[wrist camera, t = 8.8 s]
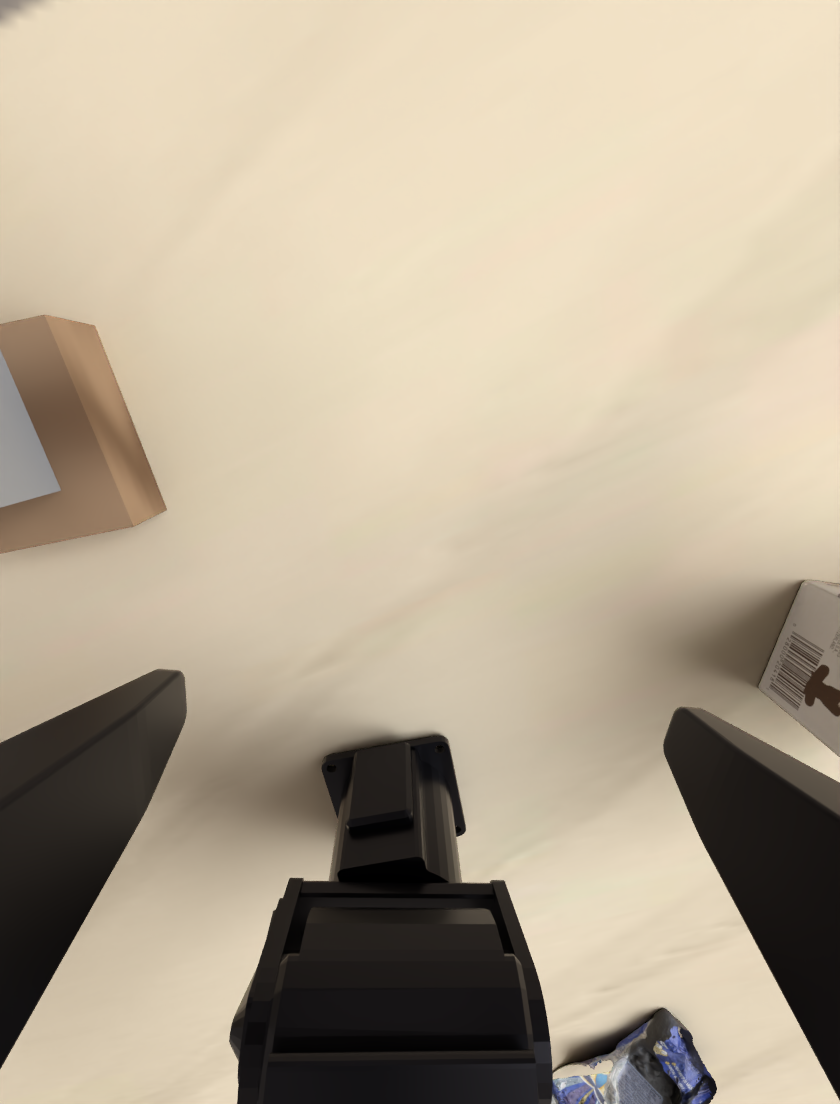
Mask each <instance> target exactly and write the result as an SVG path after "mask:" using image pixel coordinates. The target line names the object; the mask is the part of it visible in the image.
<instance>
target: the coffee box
mask: <svg viewBox="0 0 840 1104" xmlns="http://www.w3.org/2000/svg"><path fill="white" fill-rule="evenodd" d="M758 688H759V689H760V690H761V691H762V692H763V693H764V694H766V695H767V696H768V697H769V698H770V699H771V700H773V701H774V702H775V703H776V704H777V705H778V706H780V707H781V708H782V709H783V710H784V711H786V712H787V713H788V714H789V715H790V716H792V717H793V718H794V719H795V720H796V721H798V722H799V723H800V724H801V725H802V726H803V727H805V728H806V729H807V730H808V731H809V732H811V733H812V734H813V735H814V736H815V737H816V738H818V739H819V740H820V741H821V742H822V743H823V744H824V745H826V746H827V747H828V748H829V749H831V750H832V751H833V752H834V753H835V754H836V755H838V756H839V757H840V584H835V583H827V582H819V581H810V580H806V581H804V582H803V583H802V584H801V586H800V589H799V591H798V593H797V596H796V598H795V600H794V603H793V605H792V607H791V610H790V612H789V614H788V617H787V619H786V622H785V624H784V626H783V629H782V631H781V633H780V636H779V638H778V641H777V643H776V646H775V648H774V650H773V653H772V655H771V657H770V660H769V662H768V665H767V667H766V670H765V672H764V674H763V677H762V679H761V681H760V683H759V687H758Z"/></svg>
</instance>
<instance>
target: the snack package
mask: <svg viewBox="0 0 840 1104" xmlns="http://www.w3.org/2000/svg"><path fill="white" fill-rule="evenodd" d="M678 1027H681V1029H680V1033H681V1034H682V1035H683V1038H680V1035H679V1033H678ZM692 1039H693V1037H692V1035H691V1033H690V1032H689V1031H688V1030H687V1029H686V1027H685V1026H684V1025H683V1024H682V1023H681V1022H680V1021H679V1020H678V1019H676V1018H674V1017H673V1015H672V1014H671V1013H670V1012H669V1011H667V1010H666V1009H661V1010H659V1011H657V1012H656V1013H655V1014H654V1017H653V1018H652V1019H650V1020H649V1021H648V1022H646V1023H644V1024H643V1025H642V1026H640V1027H639V1028H638V1029H636V1030H635V1031H633V1033H630V1035H628V1036H627V1037H626V1038H625V1039H623V1040H622V1041H620V1042H619V1043H618V1045H617V1046H616V1049H615V1050H614V1051H613V1052H612V1053H610V1054H605V1055H602V1056H600V1055H599V1056H597V1057H595V1058H592V1059H589V1060H585V1061H583V1062H574V1063H571V1064H568V1065H578V1064H579V1065H584V1066H586V1065H589V1066H590V1068H593V1069H594V1068H595V1066H596V1065H597V1063H598V1062H599V1063H601V1060H602V1061H604V1060H605V1061H607V1060H611V1061H612V1062H613V1064H614V1065H613V1067H612V1071H610V1072H607V1073H601V1074H593V1075H588V1076H573V1077H569V1078H563V1079H559V1078H558V1079H554V1080H553V1087H552V1102H551V1104H709V1103H710V1102H711V1100H712V1099H713V1096H714V1095H715V1094H716V1090H717V1087H716V1083H715V1081H714V1079H713V1078H712V1076H711V1074H710V1073H709V1072H708V1071H707V1069H706V1067H705V1065H704V1064H703V1062H702V1061H701V1058H700V1056H699V1055H698V1052H697V1051H696V1049H695V1047H694V1045H693V1042H692V1041H693V1040H692ZM568 1065H565V1066H568ZM565 1066H563V1067H565ZM561 1068H562V1067H561ZM559 1069H560V1068H559ZM557 1070H558V1069H557ZM557 1070H556V1071H557Z"/></svg>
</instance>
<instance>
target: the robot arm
mask: <svg viewBox="0 0 840 1104" xmlns="http://www.w3.org/2000/svg"><path fill="white" fill-rule="evenodd" d="M186 713H187V707H186V690H185V677H184V674H183V673H182V672H181V671H179V670H166V669H157V670H154V671H152V672H150V673H148V674H146V675H144V676H141V677H139V678H137V679H135V680H133V681H131V682H129V683H127V684H124V685H122V686H120V687H118V688H116V689H114V690H112V691H110V692H107V693H105V694H103V695H101V696H99V697H97V698H95V699H93V700H91V701H88V702H86V703H84V704H82V705H80V706H78V707H76V708H74V709H71V710H69V711H67V712H65V713H63V714H61V715H59V716H57V717H54V718H52V719H50V720H48V721H46V722H44V723H42V724H40V725H37V726H35V727H33V728H31V729H29V730H27V731H25V732H23V733H21V734H18V735H16V736H14V737H12V738H10V739H8V740H6V741H4V742H1V743H0V1069H1V1067H2V1065H3V1064H4V1062H5V1060H6V1058H7V1057H8V1055H9V1053H10V1051H11V1049H12V1048H13V1046H14V1044H15V1042H16V1041H17V1039H18V1037H19V1035H20V1034H21V1032H22V1030H23V1028H24V1026H25V1025H26V1023H27V1021H28V1019H29V1018H30V1016H31V1014H32V1012H33V1010H34V1009H35V1007H36V1005H37V1003H38V1002H39V1000H40V998H41V996H42V995H43V993H44V991H45V989H46V987H47V986H48V984H49V982H50V980H51V979H52V977H53V975H54V973H55V971H56V970H57V968H58V966H59V964H60V963H61V961H62V959H63V957H64V956H65V954H66V952H67V950H68V948H69V947H70V945H71V943H72V941H73V940H74V938H75V936H76V934H77V932H78V931H79V929H80V927H81V925H82V924H83V922H84V920H85V918H86V916H87V915H88V913H89V911H90V909H91V908H92V906H93V904H94V902H95V901H96V899H97V897H98V895H99V893H100V892H101V890H102V888H103V886H104V885H105V883H106V881H107V879H108V877H109V876H110V874H111V872H112V870H113V869H114V867H115V865H116V863H117V862H118V860H119V858H120V856H121V854H122V853H123V851H124V849H125V847H126V846H127V844H128V842H129V840H130V838H131V837H132V835H133V833H134V831H135V830H136V828H137V826H138V824H139V822H140V821H141V819H142V817H143V815H144V813H145V811H146V809H147V807H148V805H149V803H150V801H151V799H152V796H153V794H154V792H155V790H156V787H157V785H158V783H159V780H160V778H161V776H162V774H163V771H164V769H165V767H166V764H167V762H168V760H169V758H170V755H171V753H172V751H173V748H174V746H175V744H176V741H177V739H178V737H179V735H180V732H181V730H182V728H183V725H184V723H185V719H186ZM438 745H442V747H440V748H437V747H436V746H438ZM663 749H664V754H665V757H666V760H667V762H668V764H669V767H670V769H671V771H672V774H673V776H674V778H675V781H676V783H677V785H678V788H679V790H680V792H681V795H682V797H683V799H684V802H685V804H686V807H687V809H688V811H689V814H690V816H691V818H692V821H693V823H694V825H695V827H696V830H697V832H698V834H699V836H700V838H701V840H702V842H703V844H704V846H705V848H706V850H707V852H708V854H709V856H710V858H711V860H712V862H713V863H714V865H715V867H716V869H717V871H718V873H719V875H720V877H721V878H722V880H723V882H724V884H725V886H726V888H727V890H728V892H729V893H730V895H731V897H732V899H733V901H734V903H735V905H736V907H737V908H738V910H739V912H740V914H741V916H742V918H743V920H744V922H745V924H746V925H747V927H748V929H749V931H750V933H751V935H752V937H753V939H754V940H755V942H756V944H757V946H758V948H759V950H760V952H761V954H762V955H763V957H764V959H765V961H766V963H767V965H768V967H769V969H770V970H771V972H772V974H773V976H774V978H775V980H776V982H777V984H778V986H779V987H780V989H781V991H782V993H783V995H784V997H785V999H786V1001H787V1002H788V1004H789V1006H790V1008H791V1010H792V1012H793V1014H794V1016H795V1017H796V1019H797V1021H798V1023H799V1025H800V1027H801V1029H802V1031H803V1032H804V1034H805V1036H806V1038H807V1040H808V1042H809V1044H810V1046H811V1048H812V1049H813V1051H814V1053H815V1055H816V1057H817V1059H818V1061H819V1063H820V1064H821V1066H822V1068H823V1070H824V1072H825V1074H826V1076H827V1078H828V1079H829V1081H830V1083H831V1085H832V1087H833V1089H834V1091H835V1093H836V1094H837V1096H838V1098H839V1100H840V783H839V782H837V781H836V780H834V779H832V778H830V777H828V776H826V775H824V774H823V773H821V772H819V771H817V770H815V769H813V768H811V767H810V766H808V765H806V764H804V763H802V762H800V761H798V760H797V759H795V758H793V757H791V756H789V755H787V754H785V753H784V752H782V751H780V750H778V749H776V748H774V747H772V746H771V745H769V744H767V743H765V742H763V741H761V740H759V739H758V738H756V737H754V736H752V735H750V734H748V733H746V732H745V731H743V730H741V729H739V728H737V727H735V726H733V725H732V724H730V723H728V722H726V721H724V720H722V719H720V718H718V717H717V716H715V715H713V714H711V713H709V712H707V711H705V710H703V709H701V708H692V707H679V708H677V709H676V710H675V711H674V714H673V716H672V719H671V722H670V725H669V728H668V730H667V733H666V736H665V739H664V744H663ZM330 764H331V765H335V766H330ZM322 772H323V775H324V778H325V782H326V785H327V788H328V791H329V794H330V797H331V800H332V803H333V806H334V809H335V812H336V815H337V818H338V822H337V828H336V835H335V842H334V849H333V856H332V863H331V869H330V876H329V881H304V879H303V878H290V879H289V882H288V885H287V888H286V891H285V894H284V897H283V898H280V899H279V902H278V905H277V908H276V910H274V911H273V914H272V918H271V923H270V927H269V931H268V935H267V939H266V942H265V945H264V948H263V951H262V954H261V957H260V960H259V964H258V967H257V969H256V971H255V973H254V976H253V978H252V980H251V982H250V984H249V986H248V988H247V990H246V993H245V995H244V997H243V999H242V1001H241V1003H240V1005H239V1008H238V1010H237V1012H236V1014H235V1016H234V1019H233V1022H232V1026H231V1032H230V1040H229V1042H230V1045H231V1047H232V1049H233V1051H234V1053H235V1055H236V1057H237V1059H238V1061H239V1064H238V1084H239V1087H238V1101H237V1104H551V1102H552V1087H553V1076H552V1056H551V1045H550V1036H549V1029H548V1021H547V1015H546V1010H545V1004H544V999H543V995H542V990H541V986H540V982H539V979H538V975H537V972H536V969H535V966H534V963H533V960H532V957H531V954H530V952H529V949H528V946H527V943H526V940H525V938H524V935H523V932H522V929H521V926H520V923H519V921H518V918H517V915H516V912H515V909H514V906H513V904H512V901H511V898H510V895H509V892H508V890H507V887H506V884H505V881H504V880H491V881H490V883H462V879H461V871H460V863H459V855H458V847H457V839H456V837H457V836H461V835H462V834H464V833H465V831H466V826H465V820H464V815H463V810H462V805H461V800H460V795H459V790H458V785H457V780H456V775H455V770H454V765H453V760H452V755H451V750H450V745H449V741H448V739H447V738H446V737H444V736H433V737H428V738H422V739H416V740H411V741H405V742H400V743H394V744H388V745H383V746H377V747H371V748H366V749H360V750H354V751H349V752H343V753H337V754H332V755H328V756H326V757H325V758H324V760H323V763H322ZM456 826H457V827H456Z"/></svg>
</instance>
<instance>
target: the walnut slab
mask: <svg viewBox="0 0 840 1104" xmlns="http://www.w3.org/2000/svg"><path fill="white" fill-rule="evenodd" d="M0 350H1V352H2V354H3V357H4V359H5V361H6V364H7V366H8V368H9V371H10V373H11V375H12V378H13V380H14V382H15V385H16V387H17V389H18V392H19V394H20V396H21V398H22V401H23V403H24V405H25V408H26V410H27V412H28V415H29V417H30V419H31V422H32V424H33V426H34V429H35V431H36V433H37V435H38V438H39V440H40V442H41V445H42V447H43V449H44V452H45V454H46V456H47V459H48V461H49V463H50V466H51V468H52V470H53V472H54V475H55V477H56V479H57V482H58V484H59V486H60V489H61V491H58V492H54V493H50V494H47V495H43V496H40V497H36V498H33V499H29V500H26V501H22V502H19V503H15V504H12V505H8V506H4V507H1V508H0V554H1V553H6V552H10V551H15V550H20V549H25V548H30V547H35V546H40V545H45V544H50V543H55V542H60V541H65V540H69V539H74V538H79V537H84V536H89V535H94V534H99V533H104V532H109V531H114V530H119V529H124V528H128V527H133V526H136V525H138V524H140V523H142V522H144V521H145V520H147V519H149V518H151V517H153V516H155V515H157V514H159V513H161V512H163V511H165V510H167V508H166V506H165V503H164V501H163V498H162V496H161V493H160V490H159V488H158V485H157V483H156V480H155V478H154V475H153V473H152V470H151V467H150V465H149V462H148V460H147V457H146V455H145V452H144V450H143V447H142V445H141V442H140V439H139V437H138V434H137V432H136V429H135V427H134V424H133V422H132V419H131V416H130V414H129V411H128V409H127V406H126V404H125V401H124V399H123V396H122V394H121V391H120V388H119V386H118V383H117V381H116V378H115V376H114V373H113V371H112V368H111V366H110V363H109V360H108V358H107V355H106V353H105V350H104V348H103V345H102V343H101V340H100V337H99V335H98V332H97V330H96V327H95V326H93V325H89V324H84V323H80V322H75V321H70V320H66V319H61V318H57V317H52V316H47V315H41V316H37V317H32V318H28V319H23V320H18V321H14V322H9V323H5V324H0Z"/></svg>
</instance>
